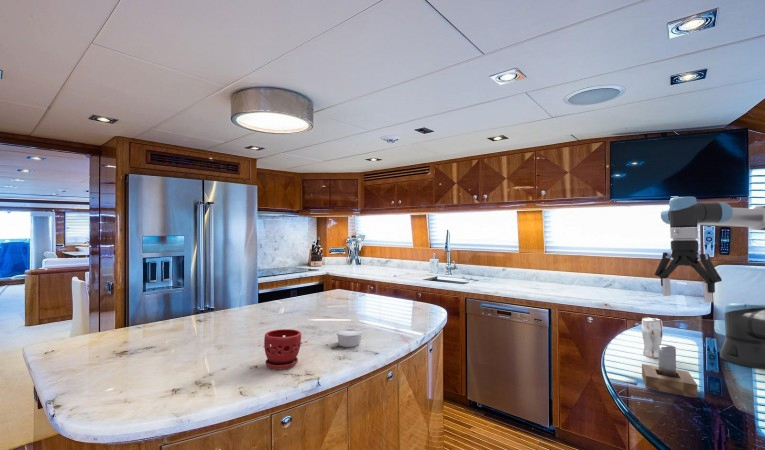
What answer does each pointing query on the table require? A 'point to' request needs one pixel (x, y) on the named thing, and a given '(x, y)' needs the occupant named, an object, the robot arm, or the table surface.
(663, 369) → the steel peg
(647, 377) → the socket block
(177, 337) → the table surface
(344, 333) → the ramekin
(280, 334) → the plant pot
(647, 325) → the beer glass
